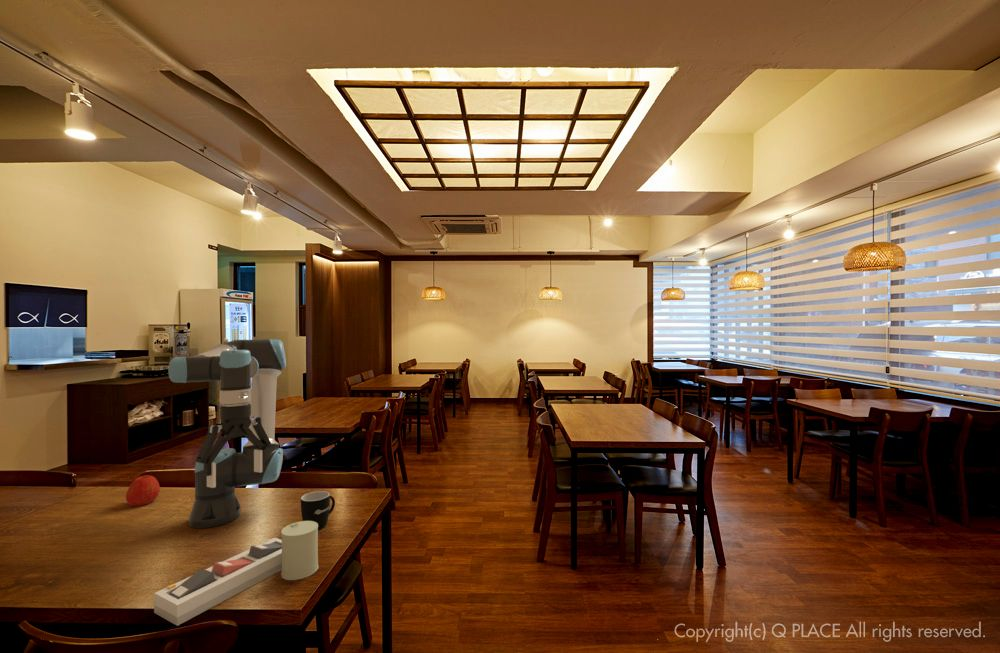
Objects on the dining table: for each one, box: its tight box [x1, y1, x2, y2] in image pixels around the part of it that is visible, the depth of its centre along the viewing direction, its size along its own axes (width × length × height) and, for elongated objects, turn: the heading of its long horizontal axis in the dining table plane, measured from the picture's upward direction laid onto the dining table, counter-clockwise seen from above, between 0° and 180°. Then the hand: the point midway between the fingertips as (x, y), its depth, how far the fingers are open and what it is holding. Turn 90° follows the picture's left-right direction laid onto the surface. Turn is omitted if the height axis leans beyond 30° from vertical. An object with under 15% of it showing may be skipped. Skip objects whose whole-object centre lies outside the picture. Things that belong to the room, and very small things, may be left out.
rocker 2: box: [249, 543, 282, 557], centre depth 118 cm, size 8×5×2 cm, turn 152°
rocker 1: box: [169, 568, 215, 599], centre depth 102 cm, size 8×5×2 cm, turn 153°
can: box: [280, 520, 319, 581], centre depth 116 cm, size 9×9×12 cm
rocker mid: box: [212, 559, 253, 575], centre depth 110 cm, size 8×5×2 cm, turn 152°
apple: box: [125, 474, 161, 507], centre depth 165 cm, size 10×10×10 cm
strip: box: [153, 537, 282, 627], centre depth 113 cm, size 38×10×5 cm, turn 152°
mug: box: [300, 490, 336, 530], centre depth 144 cm, size 12×9×10 cm
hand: (235, 479), depth 122 cm, fingers open, 13 cm apart
